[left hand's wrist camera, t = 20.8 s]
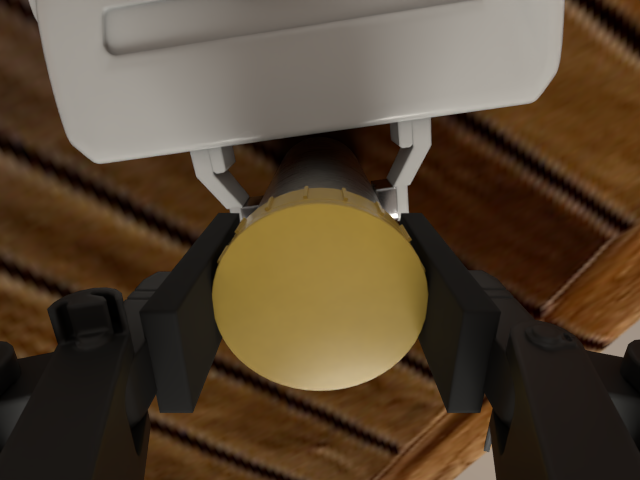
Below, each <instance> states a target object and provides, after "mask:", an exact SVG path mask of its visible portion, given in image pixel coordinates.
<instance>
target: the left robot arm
mask: <svg viewBox="0 0 640 480" xmlns="http://www.w3.org/2000/svg"><path fill="white" fill-rule="evenodd" d="M239 224H240V214H239V213H218V215H217V216H216V217H215V218H214V219H213V221H212V222H211V223H210V224H209V226H208V227H207V228H206V229H205V231H204V232H203V233H202V234H201V236H200V237H199V238H198V239H197V240H196V242H195V243H194V244H193V245H192V247H191V248H190V249H189V250H188V252H187V253H186V254H185V255H184V257H183V258H182V259H181V260H180V261H179V263H178V264H177V265H176V266H175V268H174V269H173V270H172V271H171V272H157V273H155V274H153V275H151V276H150V277H148V278H146V279H144V280H143V281H142V282H141V283H140V284H139V286H138V287H137V288H136V289H135V291H133V292H132V293H131V294H130V295H129V296H128V297H127V300H125V301H124V302H123V297H122V293H121V292H119V291H118V290H116V289H112V288H92V289H87V290H82V291H78V292H75V293H72V294H70V295H67V296H65V297H63V298H61V299H59V300H57V301H56V302H54V303H53V304H52V305H51V306H50V307H49V308H48V309H47V310H48V314H49V317H50V320H51V323H52V326H53V330H54V333H55V336H56V339H57V342H58V345H57V347H56V349H55V351H54V352H52V353H47V354H42V355H37V356H31V357H26V358H21V359H17V357H16V354H15V351H14V348H13V346H12V345H10V344H9V343H7V342H3V341H0V480H144V474H145V466H146V458H147V451H148V443H149V435H150V427H151V425H150V419H149V414H148V408H149V406H150V404H151V402H152V401H153V399H154V397H155V395H156V396H157V401H158V406H159V410H160V413H193V411H194V408H195V406H196V403H197V401H198V398H199V396H200V393H201V390H202V388H203V385H204V383H205V380H206V378H207V375H208V373H209V370H210V367H211V365H212V362H213V360H214V357H215V355H216V352H217V350H218V347H219V344H220V342H221V339H222V335H221V333H220V331H219V329H218V326H217V323H216V321H215V316H214V309H213V300H212V287H213V280H214V276H215V272H216V269H217V266H218V264H219V263H217V261H218V259H219V257H220V255H221V254H222V252H223V250H224V249H225V247H226V245H229V243H230V242H231V240H232V238H233V237H234V235H235V230H236V229H237V227H238V225H239ZM400 225H403V226H404V228H405V229H406V231H407V233H408V234H409V236H410V238H411V239H412V240H411V241H410V243H411V245H412V247H413V248H414V250H415V252H416V253H417V255H418V257H419V259H420V261H421V263H422V264H423V266H424V268H425V270H426V272H425V275H426V279H427V284H428V302H427V311H426V318H425V321H424V324H423V327H422V330H421V332H420V334H419V336H418V339H419V341H420V344H421V346H422V349H423V351H424V354H425V357H426V359H427V362H428V364H429V367H430V369H431V372H432V374H433V377H434V380H435V382H436V385H437V387H438V390H439V392H440V395H441V397H442V400H443V403H444V405H445V408H446V410H447V413H480V412H481V407H482V402H483V397H484V393H485V394H486V396H487V398H488V400H489V402H490V404H491V406H492V407H493V409H492V414H491V418H490V423H489V427H488V432H487V436H486V441H485V446H484V451H487V452H489V451H490V446H491V444H492V449H493V457H494V465H495V473H496V480H640V340H634V341H633V342H631V343H629V344H628V347H627V349H626V352H625V355H624V358H623V357H618V356H613V355H608V354H602V353H597V352H592V351H587V350H585V349H584V347H583V345H582V343H581V342H580V341H579V340H578V339H577V337H576V336H574V335H573V334H571V333H570V332H568V331H567V330H565V329H563V328H561V327H558V326H556V325H554V324H551V323H547V322H543V321H538V320H535V319H534V318H533V317H532V316H531V315H530V314H529V313H528V312H527V311H526V310H525V308H524V307H523V306H522V305H521V304H520V303H519V302H518V301H517V300H516V299H515V298H513V296H512V294H511V293H510V292H509V291H508V290H506V288H505V287H504V286H503V285H502V284H501V283H500V281H499V280H498V279H497V278H495V277H493V276H491V275H489V274H488V273H486V272H484V271H482V270H467V269H466V267H465V266H464V265H463V264H462V262H461V261H460V260H459V259H458V257H457V256H456V255H455V254H454V253H453V251H452V250H451V249H450V248H449V246H448V245H447V244H446V243H445V241H444V240H443V239H442V238H441V236H440V235H439V234H438V233H437V232H436V230H435V229H434V228H433V227H432V225H431V224H430V223H429V222H428V220H427V219H426V218H425V217H424V215H423V214H422V213H401V217H400Z"/></svg>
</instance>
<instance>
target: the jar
mask: <svg viewBox="0 0 640 480" xmlns="http://www.w3.org/2000/svg"><path fill="white" fill-rule="evenodd" d="M305 186H308V187H309V188H334V189H339V190H342V187H343V188H346V191H349V192H351V193H354V194H357V195H360V196H362V197H364V198H366V199H368V200H370V201H372V202H374V203H375V202H376V201H377V202H379V200H378V198H377V196H376V194H375V192H374V190H373V188H372V187H371V185H370V183H369V181H368V179H367V177H366V175H365V173H364V171H363V169H362V167H361V165H360V164H359V162H358V160H357V158H356V156H355V155H354V153H353V152H352V151H351V150H350V149H349V148H348V147H347V146H346V145H344V144H343V143H341V142H340V141H338V140H335V139H332V138H328V137H312V138H308V139H305V140H303V141H300V142H299V143H297V144H296V145H294V146H293V147H292V148H291V149H290V150H289V151H288V152H287V153H286V155H285V156H284V158H283V160H282V162H281V164H280V166H279V168H278V170H277V171H276V173H275V175H274V177H273V179H272V181H271V183H270V185H269V187H268V189H267V191H266V193H265V195H264V196H263V198H262V200H261V202H260V204H259V206H258V208H259V207H260V206H262V205H263V204H265V203H266V202H268V200H269V198H270V197H272V196H273V198H276V197H278V196H280V195H283V194H286V193H289V192H292V191H296V190H301V189H304V187H305ZM379 203H380V202H379ZM380 205H381V204H380ZM381 207H382V206H381Z"/></svg>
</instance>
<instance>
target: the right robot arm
mask: <svg viewBox="0 0 640 480" xmlns="http://www.w3.org/2000/svg"><path fill="white" fill-rule="evenodd" d="M28 1H29V3H30V6H31V9H32V12H33V14H34V16H35V18H36V20H37V22H38V26H39V32H40V37H41V42H42V47H43V52H44V57H45V61H46V66H47V70H48V74H49V78H50V82H51V86H52V90H53V94H54V97H55V101H56V104H57V108H58V111H59V115H60V118H61V121H62V124H63V127H64V130H65V133H66V135H67V138H68V139H69V141H70V143H71V144H72V145H73V146H74V147H75V148H77V149H78V150H79V151H80V152H81V153H82V154H84V155H85V156H86V157H87V158H89V159H90V160H91V161H93V162H95V163H98V164H103V163H111V162H118V161H125V160H132V159H139V158H146V157H153V156H160V155H167V154H174V153H181V152H189V151H190V154H191V158H192V161H193V165H194V169H195V173H196V177H197V178H198V179H199V180H200V181H201V182H202V183H203V184H204V185H205V186H206V187H207V188H208V189H209V191H210V192H211V193H212V194H213V195H214V196H215V197H216V198H217V199H218V200H219V201H220V202H221V203H222V204H223V205H224V206H225V207H226V209H230V212H231V213H239V214H240V222H241V220H242V219H243V218H244V217H245V218H246V219H247V217H248V216H249V215H251V214H252V213H253V212H254V211H255V210H256V209H257V208H258V206H259V204H260V202H261V200H262V198H263V196H255V197H249V195H248V194H247V193H246V191H245V190H244V189H243V188H242V187H241V185H240V184H239V183H238V182H237V181H236V179H235V178H234V177H233V176H232V174H231V173H230V172H229V171H228V170H227V169H229V168H230V167H231V166H232V165H233V164H234V163H235V162H236V161H235V156H234V151H233V147H232V145H238V144H245V143H252V142H260V141H267V140H274V139H281V138H288V137H295V136H302V135H309V134H316V133H323V132H331V131H338V130H345V129H352V128H359V127H366V126H373V125H380V124H387V123H390V132H391V140H392V141H393V142H394V143H396V144H397V145H399V146H400V147H401V148H400V150H399V152H398V154H397V156H396V159H395V161H394V163H393V165H392V167H391V170H390V172H389V174H388V176H387V179H382V180H376V181H371V187H372V188H373V190H374V192H375V194H376V196H377V198H378V200H379V202H380V204H381V206H382V208H383V209H384V210H385V211H386V212H387V213H388V214H390V215H391V216H392V217H393V218H394V219H395V221H400V217H401V213H409V209H408V189H407V185H410V184H411V182H412V180H413V178H414V176H415V175H416V173H417V171H418V169H419V167H420V165H421V163H422V161H423V159H424V158H425V156H426V154H427V152H428V150H429V148H430V146H431V117H437V116H444V115H451V114H458V113H465V112H472V111H480V110H487V109H494V108H501V107H508V106H515V105H522V104H529V103H532V102H534V101H536V100H537V99H538V98H539V97H540V95H541V94H542V93H543V92H544V90H545V89H546V87H547V86H548V85H549V83H550V82H551V80H552V79H553V78H554V76H555V75H556V73H557V70H558V67H559V63H560V58H561V49H562V39H563V25H564V5H565V0H28Z"/></svg>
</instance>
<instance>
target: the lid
mask: <svg viewBox="0 0 640 480" xmlns="http://www.w3.org/2000/svg"><path fill="white" fill-rule="evenodd" d="M411 240H412V239H411V238H410V236H409V234H408V233H407V231H406V229H405V228H404V226H403V225H399V224H398V223H397V222H396V221H395V219H394V218H393V217H392V216H391V215H390V214H388V213H387V212H386V211H385V210H384V209H383V208H382V207H381V205H380V203H379V202H377V201H376V202H375V203H374V202H372V201H370V200H368V199H366V198H364V197H362V196H360V195H357V194H354V193H351V192H349V191H346V188H343V187H342V190H339V189H334V188H309V187H308V186H305V187H304V189H301V190H296V191H292V192H289V193H286V194H283V195H280V196H278V197H276V198H273V196H272V197H270V198H269V200H268V202H266V203H265V204H263V205H262V206H260V207H259V208H257V209H256V210H255V211H254V212H253V213H252V214H251V215H249V216H248V217H247V219H246V218H245V217H244V218H243V219H242V220H241V222H240V224H239V225H238V227H237V229H236V230H235V235H234V237H233V238H232V240H231V242H230V243H229V245H226V247H225V249H224V250H223V252H222V254H221V255H220V257H219V259H218V261H217V263H219V264H218V266H217V269H216V272H215V276H214V280H213V287H212V300H213V309H214V316H215V321H216V323H217V326H218V329H219V331H220V333H221V335H222V337H223V339H224V341H225V342H226V344H227V345H228V347H229V348H230V349H231V351H232V352H233V353H234V354H235V355H236V356H237V357H238V358H239V360H241V361H242V362H243V363H244V364H245V365H246V366H248V367H249V368H250V369H252V370H253V371H255V372H256V373H258V374H259V375H261V376H263V377H265V378H267V379H269V380H271V381H273V382H276V383H279V384H281V385H285V386H288V387H292V388H297V389H303V390H314V391H327V390H337V389H344V388H348V387H352V386H356V385H359V384H362V383H364V382H367V381H369V380H371V379H373V378H375V377H377V376H379V375H381V374H383V373H384V372H386V371H387V370H389V369H390V368H391V367H393V366H394V365H395V364H396V363H397V362H399V361H400V360H401V359H402V358H403V357H404V356H405V354H406V353H407V352H408V351H409V350H410V348H411V347H412V346H413V344H414V343H415V341H416V340H417V338H418V336H419V334H420V332H421V330H422V327H423V324H424V321H425V318H426V311H427V302H428V284H427V279H426V275H425V272H426V270H425V268H424V266H423V264H422V263H421V261H420V259H419V257H418V255H417V253H416V252H415V250H414V248H413V247H412V245H411V243H410V241H411Z"/></svg>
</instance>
